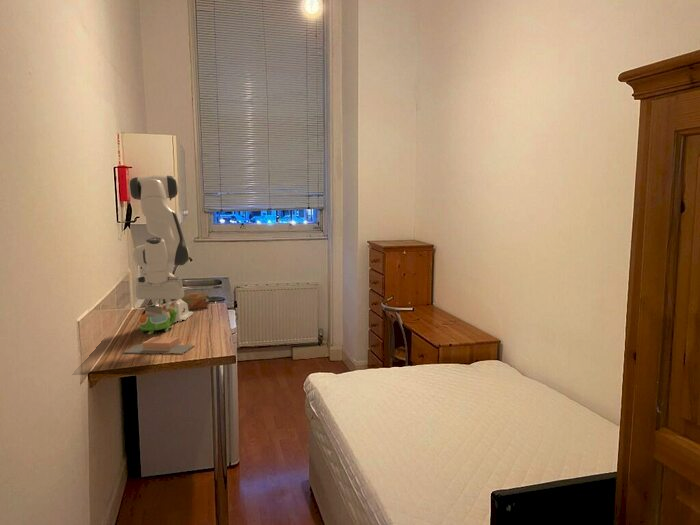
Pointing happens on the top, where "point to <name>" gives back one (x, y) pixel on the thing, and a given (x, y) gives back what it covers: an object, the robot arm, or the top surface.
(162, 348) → the tile
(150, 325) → the turtle holder
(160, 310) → the scraper
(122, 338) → the top surface
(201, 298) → the brown rounded slab
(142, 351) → the mat
